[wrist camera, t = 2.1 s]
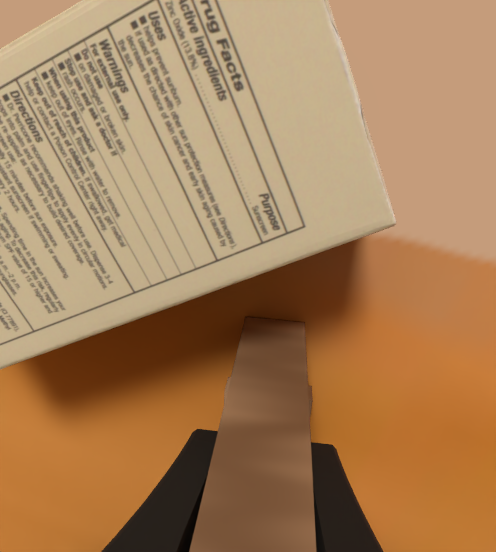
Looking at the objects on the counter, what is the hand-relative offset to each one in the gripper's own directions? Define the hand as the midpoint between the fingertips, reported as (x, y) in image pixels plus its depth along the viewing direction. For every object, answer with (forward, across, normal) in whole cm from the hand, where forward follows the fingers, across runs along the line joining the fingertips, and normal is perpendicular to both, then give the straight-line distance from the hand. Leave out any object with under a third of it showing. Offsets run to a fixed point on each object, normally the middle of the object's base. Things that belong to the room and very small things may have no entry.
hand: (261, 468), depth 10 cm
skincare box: (+3, +10, -3) cm, 11 cm away
